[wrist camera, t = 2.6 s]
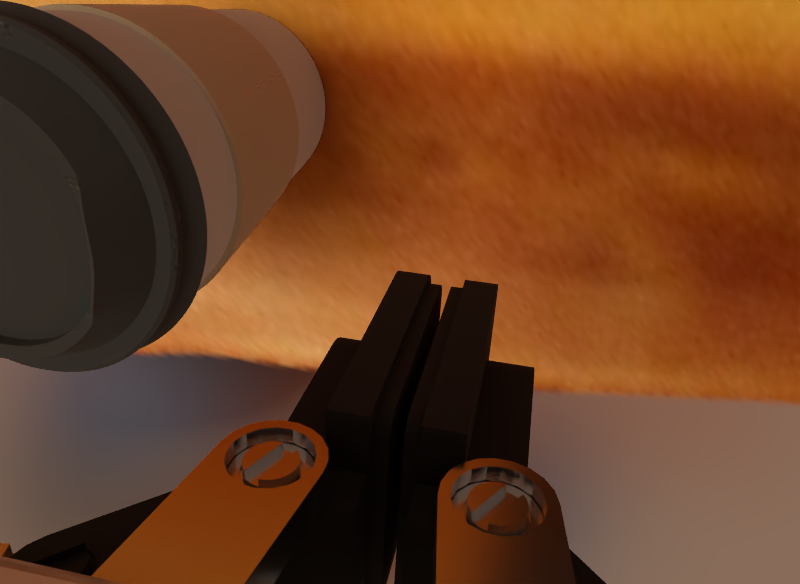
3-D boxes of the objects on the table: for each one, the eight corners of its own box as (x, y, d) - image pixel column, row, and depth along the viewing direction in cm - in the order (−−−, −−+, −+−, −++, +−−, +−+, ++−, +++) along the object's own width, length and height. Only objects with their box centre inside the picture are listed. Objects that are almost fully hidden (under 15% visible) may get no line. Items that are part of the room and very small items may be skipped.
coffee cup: (148, 184, 30) (-169, 362, 17) (138, -39, 26) (-292, -27, 13) (342, 225, 29) (159, 449, 16) (364, -2, 25) (139, 52, 12)
